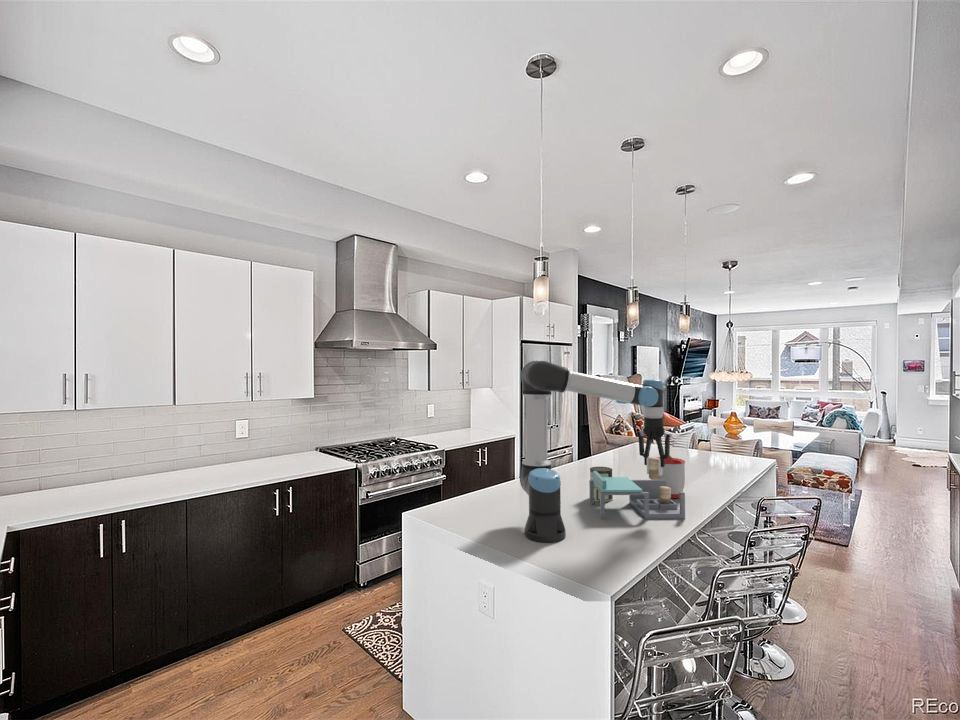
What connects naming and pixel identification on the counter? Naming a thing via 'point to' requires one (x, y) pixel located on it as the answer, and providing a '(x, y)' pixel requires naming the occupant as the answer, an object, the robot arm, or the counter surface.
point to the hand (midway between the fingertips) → (654, 474)
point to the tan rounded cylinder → (653, 469)
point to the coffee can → (604, 473)
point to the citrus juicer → (674, 475)
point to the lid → (615, 484)
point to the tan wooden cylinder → (665, 495)
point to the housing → (646, 501)
